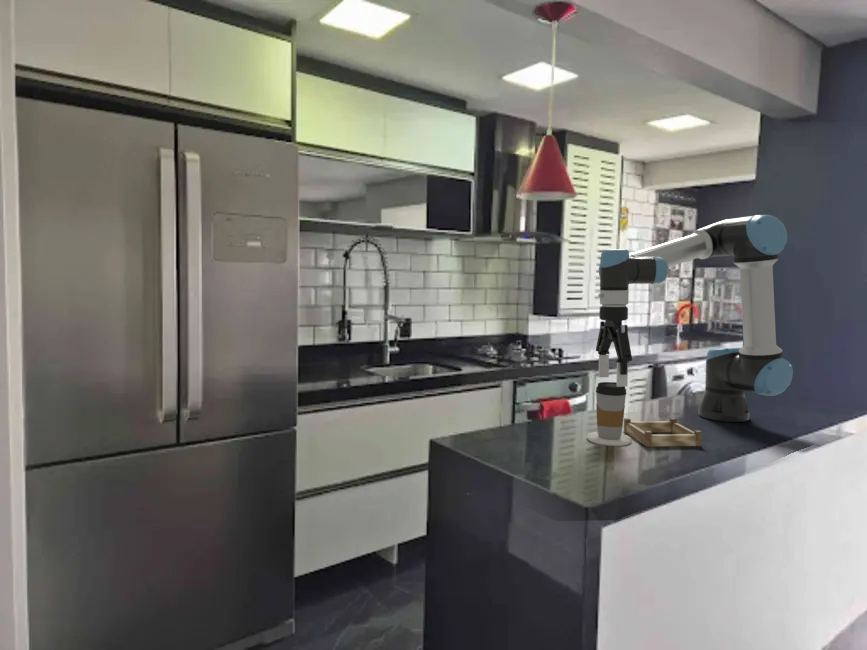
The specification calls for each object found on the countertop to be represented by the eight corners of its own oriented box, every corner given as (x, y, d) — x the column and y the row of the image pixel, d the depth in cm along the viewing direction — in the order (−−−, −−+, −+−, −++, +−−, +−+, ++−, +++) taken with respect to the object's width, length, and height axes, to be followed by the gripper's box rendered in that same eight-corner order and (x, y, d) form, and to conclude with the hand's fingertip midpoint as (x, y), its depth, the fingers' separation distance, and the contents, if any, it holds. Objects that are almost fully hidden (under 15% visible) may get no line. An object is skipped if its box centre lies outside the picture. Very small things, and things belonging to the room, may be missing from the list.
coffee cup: (626, 442, 155) (628, 388, 154) (595, 440, 157) (597, 386, 156) (622, 434, 163) (625, 382, 162) (592, 432, 165) (594, 381, 164)
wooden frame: (673, 431, 170) (674, 417, 170) (701, 446, 155) (701, 431, 155) (623, 431, 169) (624, 418, 169) (646, 446, 154) (646, 432, 154)
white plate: (621, 433, 167) (621, 431, 166) (638, 446, 155) (638, 443, 155) (581, 434, 166) (581, 431, 166) (595, 446, 154) (595, 443, 154)
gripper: (585, 303, 169) (584, 374, 171) (617, 308, 144) (616, 390, 146) (610, 303, 170) (608, 373, 172) (646, 308, 145) (644, 390, 147)
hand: (612, 381), depth 159 cm, fingers open, 13 cm apart
